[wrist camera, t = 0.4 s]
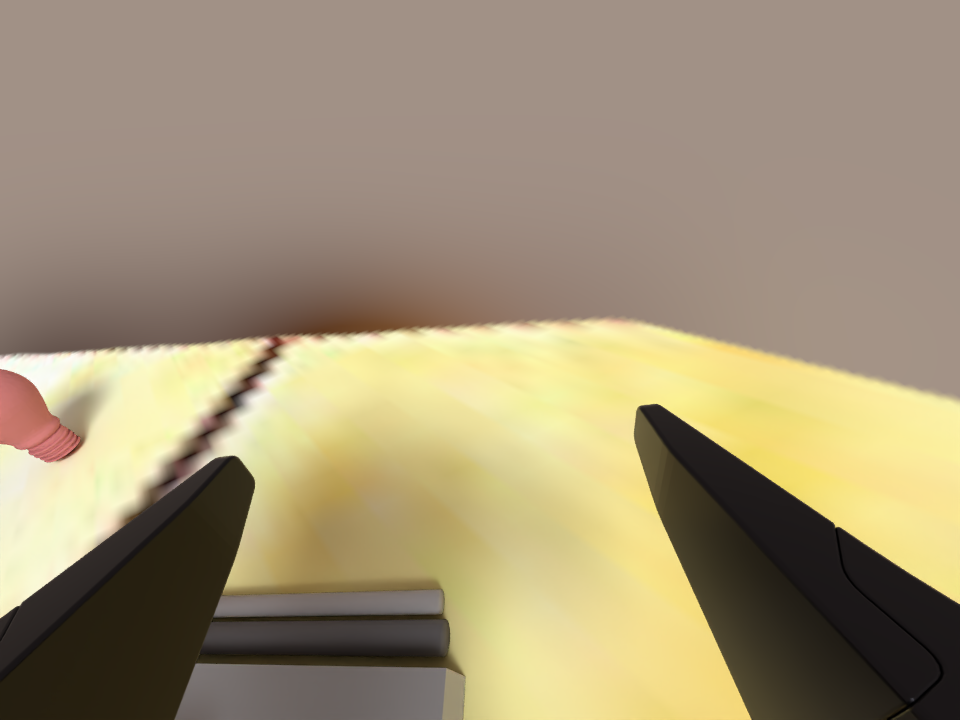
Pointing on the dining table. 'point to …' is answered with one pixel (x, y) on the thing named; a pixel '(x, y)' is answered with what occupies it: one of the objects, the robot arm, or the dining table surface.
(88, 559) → the robot arm
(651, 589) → the dining table surface
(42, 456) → the light bulb
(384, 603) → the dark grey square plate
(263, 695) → the breaker panel
